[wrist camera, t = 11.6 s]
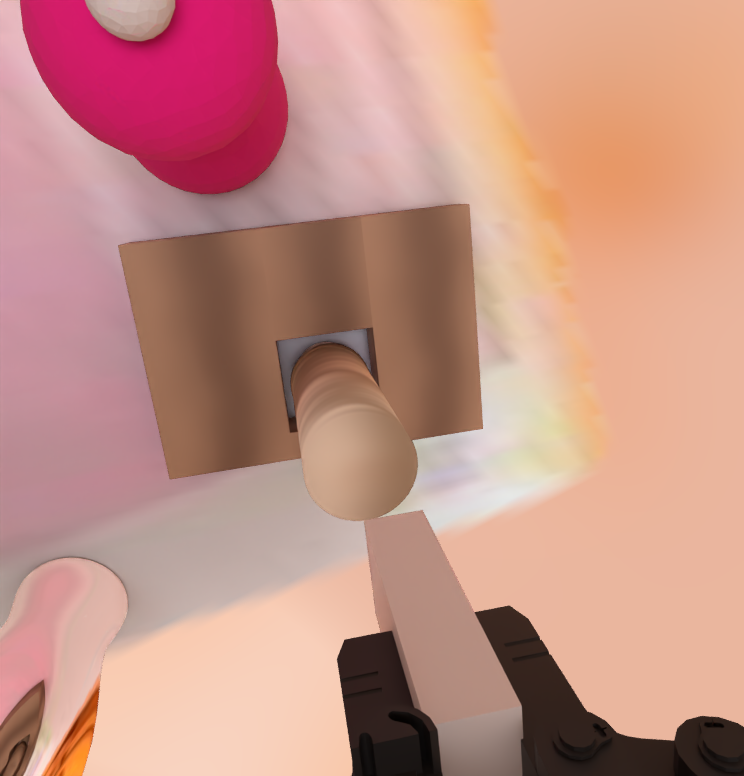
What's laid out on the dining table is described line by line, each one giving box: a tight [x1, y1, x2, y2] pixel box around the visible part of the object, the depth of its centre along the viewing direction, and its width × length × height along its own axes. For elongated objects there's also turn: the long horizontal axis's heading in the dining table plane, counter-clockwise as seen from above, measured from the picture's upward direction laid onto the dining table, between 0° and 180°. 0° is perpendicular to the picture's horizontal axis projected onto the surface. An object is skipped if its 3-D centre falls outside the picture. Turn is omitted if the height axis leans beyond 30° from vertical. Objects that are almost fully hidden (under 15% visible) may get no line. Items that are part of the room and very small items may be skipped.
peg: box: [291, 342, 418, 521], centre depth 29 cm, size 4×4×14 cm
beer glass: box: [0, 558, 128, 776], centre depth 29 cm, size 7×7×15 cm
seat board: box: [118, 204, 483, 479], centre depth 33 cm, size 17×12×2 cm
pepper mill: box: [20, 0, 288, 194], centre depth 21 cm, size 7×7×20 cm
